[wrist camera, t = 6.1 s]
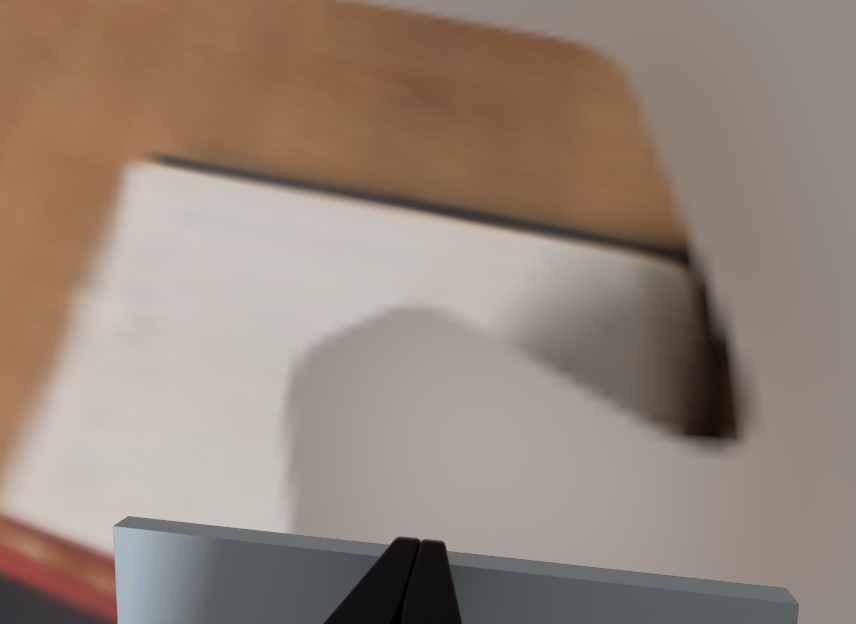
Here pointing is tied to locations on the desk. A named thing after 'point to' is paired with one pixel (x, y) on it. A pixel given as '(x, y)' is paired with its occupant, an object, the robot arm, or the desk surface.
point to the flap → (350, 560)
